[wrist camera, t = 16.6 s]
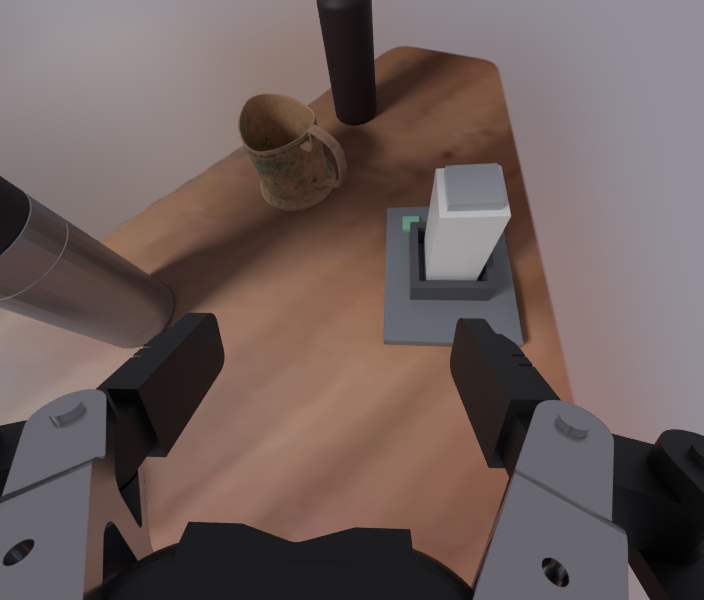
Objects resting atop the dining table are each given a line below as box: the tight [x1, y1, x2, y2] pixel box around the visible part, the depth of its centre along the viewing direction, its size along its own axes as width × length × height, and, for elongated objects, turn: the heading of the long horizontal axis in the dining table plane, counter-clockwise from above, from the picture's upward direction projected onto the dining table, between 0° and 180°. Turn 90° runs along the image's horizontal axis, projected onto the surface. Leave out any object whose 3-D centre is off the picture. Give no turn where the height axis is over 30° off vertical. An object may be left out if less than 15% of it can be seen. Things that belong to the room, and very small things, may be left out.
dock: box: [383, 207, 523, 348], centre depth 34 cm, size 18×14×4 cm
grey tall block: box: [423, 163, 511, 281], centre depth 29 cm, size 5×5×13 cm
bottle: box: [317, 0, 376, 125], centre depth 41 cm, size 7×7×20 cm
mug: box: [238, 94, 347, 211], centre depth 39 cm, size 12×18×12 cm, turn 45°
